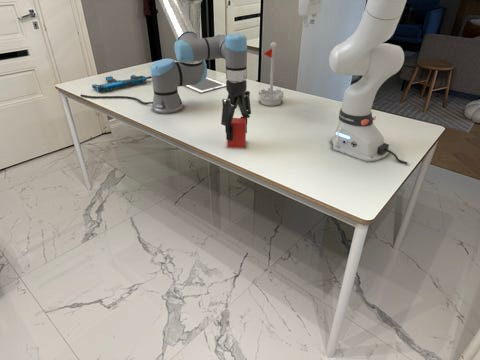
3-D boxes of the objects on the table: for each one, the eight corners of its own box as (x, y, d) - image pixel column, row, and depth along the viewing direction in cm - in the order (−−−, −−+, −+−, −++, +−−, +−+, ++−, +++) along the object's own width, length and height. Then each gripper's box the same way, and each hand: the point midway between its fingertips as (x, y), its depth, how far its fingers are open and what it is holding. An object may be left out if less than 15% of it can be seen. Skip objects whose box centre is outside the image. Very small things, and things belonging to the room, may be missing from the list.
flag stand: (276, 96, 187) (279, 38, 170) (287, 104, 177) (292, 43, 160) (254, 99, 183) (255, 40, 167) (264, 107, 173) (267, 45, 156)
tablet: (171, 80, 212) (171, 79, 212) (198, 74, 223) (197, 73, 223) (200, 93, 192) (200, 92, 192) (228, 85, 203) (228, 85, 203)
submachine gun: (137, 69, 223) (155, 75, 206) (138, 75, 224) (156, 82, 208) (84, 79, 204) (100, 87, 187) (86, 86, 206) (101, 94, 189)
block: (228, 141, 141) (228, 117, 135) (245, 142, 141) (245, 118, 135) (227, 147, 137) (227, 123, 131) (245, 147, 136) (245, 123, 131)
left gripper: (245, 71, 133) (245, 125, 145) (209, 85, 119) (212, 142, 132) (261, 75, 129) (259, 129, 142) (225, 89, 115) (226, 148, 128)
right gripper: (313, -12, 153) (309, 21, 160) (297, -9, 137) (294, 28, 145) (326, -12, 150) (322, 22, 158) (312, -9, 135) (308, 29, 143)
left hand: (236, 136), depth 137 cm, fingers closed on block, 8 cm apart
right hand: (308, 25), depth 151 cm, fingers open, 8 cm apart
